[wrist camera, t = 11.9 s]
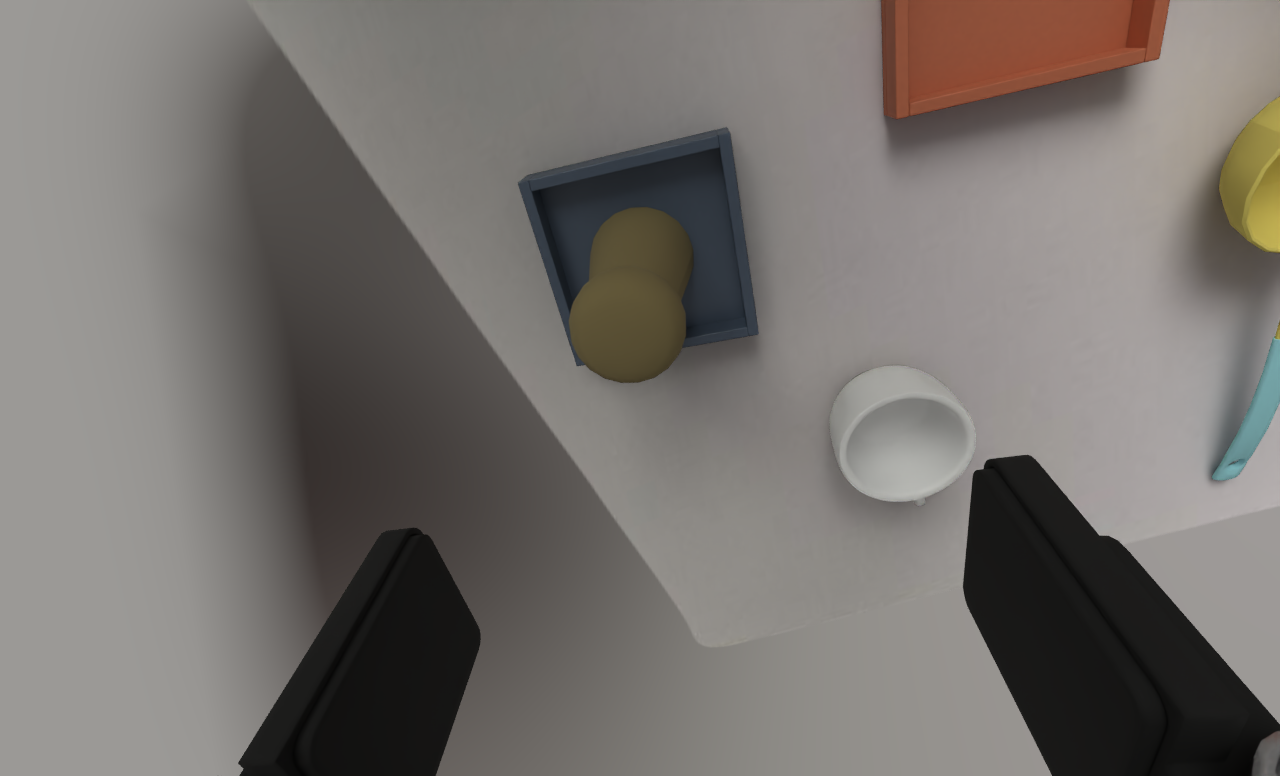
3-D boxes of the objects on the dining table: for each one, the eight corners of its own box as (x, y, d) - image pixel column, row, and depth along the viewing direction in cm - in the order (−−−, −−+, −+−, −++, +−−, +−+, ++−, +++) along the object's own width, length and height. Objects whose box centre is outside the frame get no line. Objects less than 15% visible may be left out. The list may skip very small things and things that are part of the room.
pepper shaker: (587, 301, 35) (551, 395, 26) (593, 200, 32) (553, 265, 23) (686, 313, 35) (686, 412, 26) (701, 213, 32) (707, 283, 23)
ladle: (1429, -8, 25) (1600, 18, 21) (1233, 404, 42) (1306, 465, 38) (1198, 71, 27) (1313, 111, 22) (1100, 437, 44) (1155, 499, 39)
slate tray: (582, 351, 38) (576, 366, 36) (526, 175, 32) (517, 182, 30) (755, 319, 36) (758, 334, 34) (727, 126, 30) (729, 132, 29)
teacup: (804, 373, 37) (820, 420, 33) (927, 329, 35) (963, 372, 31) (847, 485, 42) (867, 539, 37) (959, 451, 40) (995, 505, 35)
